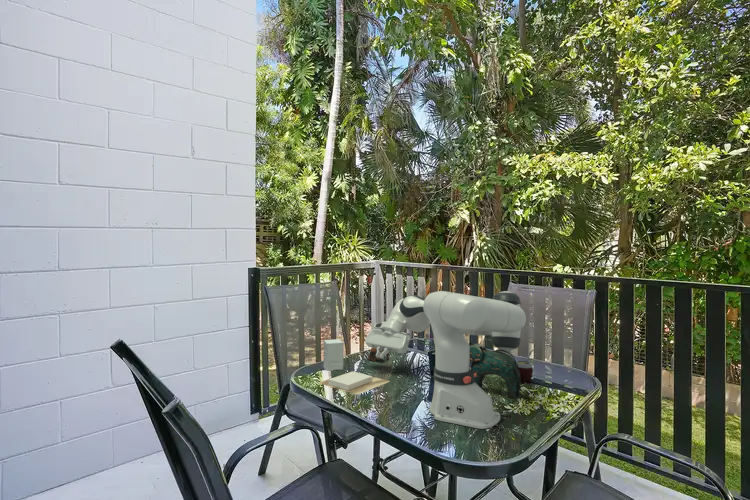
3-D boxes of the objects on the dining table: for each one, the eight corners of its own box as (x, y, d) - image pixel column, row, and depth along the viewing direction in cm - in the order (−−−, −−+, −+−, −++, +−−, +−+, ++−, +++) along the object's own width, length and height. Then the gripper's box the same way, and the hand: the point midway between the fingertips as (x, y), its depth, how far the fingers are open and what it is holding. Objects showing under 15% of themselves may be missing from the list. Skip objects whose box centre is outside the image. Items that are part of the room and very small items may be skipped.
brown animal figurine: (364, 359, 205) (371, 343, 208) (381, 367, 207) (388, 351, 210) (371, 358, 194) (378, 342, 197) (389, 367, 196) (396, 350, 199)
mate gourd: (513, 378, 176) (513, 342, 176) (533, 380, 174) (533, 343, 174) (515, 384, 169) (515, 346, 169) (536, 386, 167) (536, 348, 167)
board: (390, 383, 167) (390, 381, 167) (357, 397, 151) (357, 394, 151) (352, 373, 179) (352, 371, 179) (317, 385, 163) (317, 382, 163)
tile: (372, 376, 166) (348, 385, 155) (372, 381, 166) (348, 390, 155) (352, 371, 172) (328, 379, 161) (352, 376, 172) (328, 385, 161)
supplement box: (339, 367, 189) (339, 338, 189) (343, 371, 182) (343, 342, 182) (323, 368, 187) (323, 339, 187) (326, 373, 180) (327, 343, 180)
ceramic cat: (465, 388, 163) (464, 337, 162) (472, 383, 168) (471, 333, 167) (517, 400, 151) (516, 345, 150) (523, 394, 156) (522, 340, 155)
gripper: (415, 338, 180) (402, 366, 173) (377, 331, 193) (363, 357, 185) (410, 329, 177) (396, 357, 169) (371, 323, 189) (357, 349, 182)
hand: (378, 357), depth 177 cm, fingers closed
